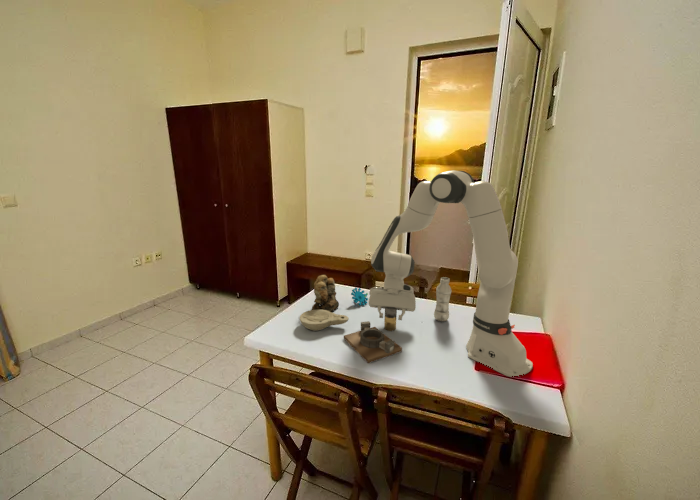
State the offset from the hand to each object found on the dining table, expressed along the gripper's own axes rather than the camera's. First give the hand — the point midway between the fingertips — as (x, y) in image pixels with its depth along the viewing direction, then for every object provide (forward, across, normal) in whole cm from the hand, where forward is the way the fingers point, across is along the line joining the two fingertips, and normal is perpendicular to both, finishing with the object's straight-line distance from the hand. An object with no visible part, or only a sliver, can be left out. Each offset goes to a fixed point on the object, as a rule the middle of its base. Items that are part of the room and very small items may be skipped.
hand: (390, 318), depth 129 cm
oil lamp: (+7, -28, +1) cm, 29 cm away
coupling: (+3, 0, +4) cm, 5 cm away
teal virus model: (-12, -17, +20) cm, 29 cm away
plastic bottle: (-6, +22, +13) cm, 26 cm away
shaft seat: (+13, -6, -6) cm, 16 cm away
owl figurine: (-6, -33, +13) cm, 35 cm away
